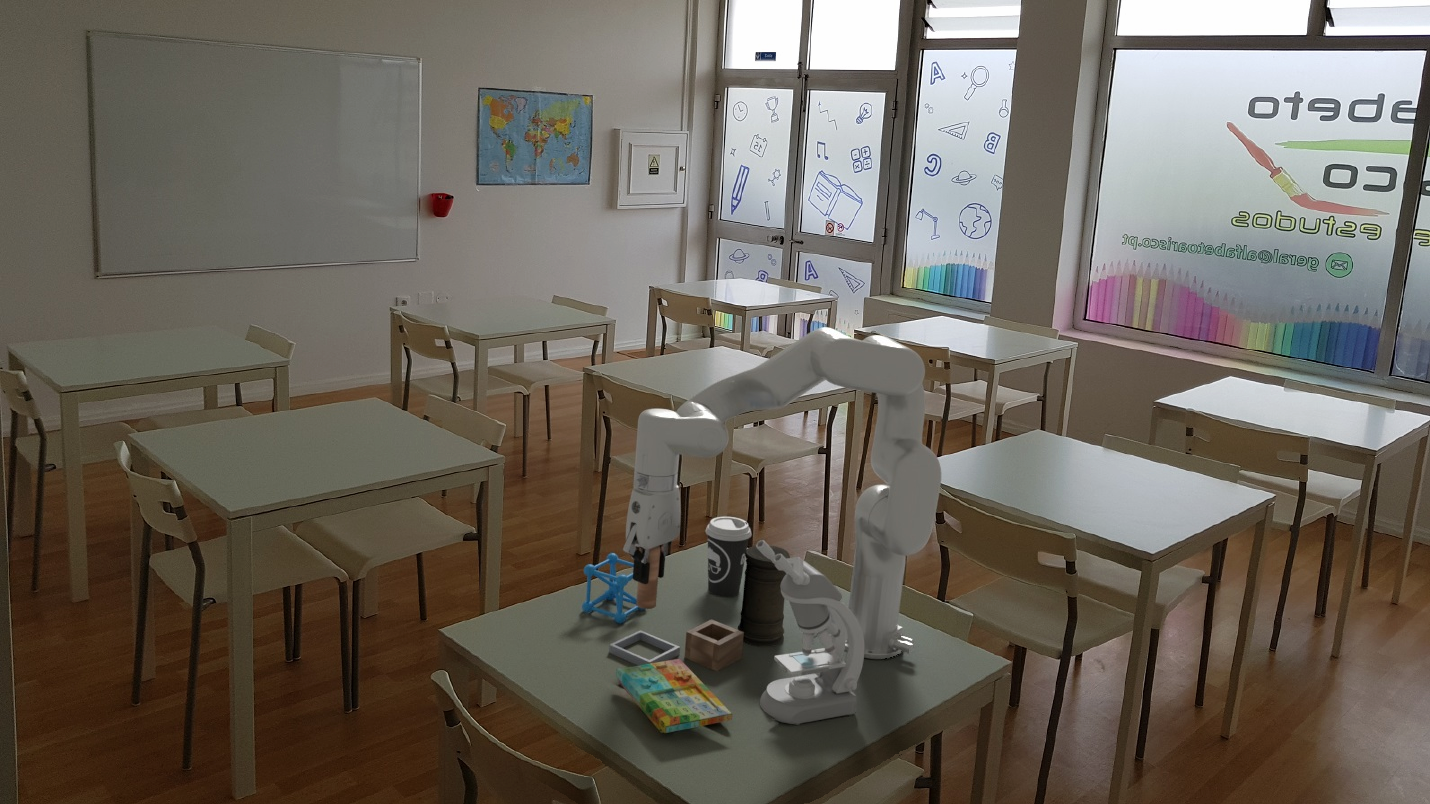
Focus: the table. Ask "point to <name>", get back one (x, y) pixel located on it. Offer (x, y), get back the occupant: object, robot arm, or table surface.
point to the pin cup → (714, 645)
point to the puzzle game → (672, 696)
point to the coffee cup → (726, 554)
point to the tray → (670, 648)
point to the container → (762, 600)
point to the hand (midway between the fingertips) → (648, 577)
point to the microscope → (833, 676)
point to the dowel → (649, 591)
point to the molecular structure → (610, 588)
